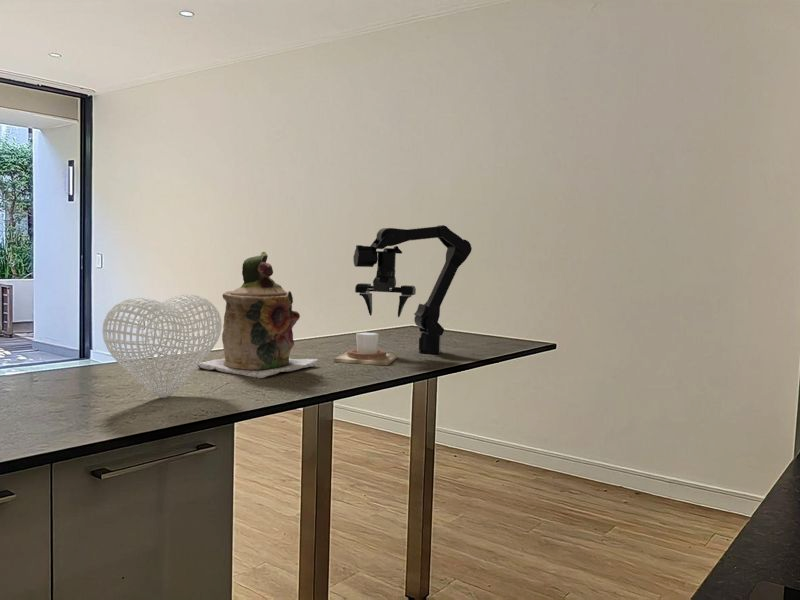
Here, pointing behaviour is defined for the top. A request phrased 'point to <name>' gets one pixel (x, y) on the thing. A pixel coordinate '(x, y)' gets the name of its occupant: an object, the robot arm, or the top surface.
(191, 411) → the top surface
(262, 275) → the cookie jar
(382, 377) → the top surface
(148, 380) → the heart
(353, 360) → the collar board
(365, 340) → the white cylinder
